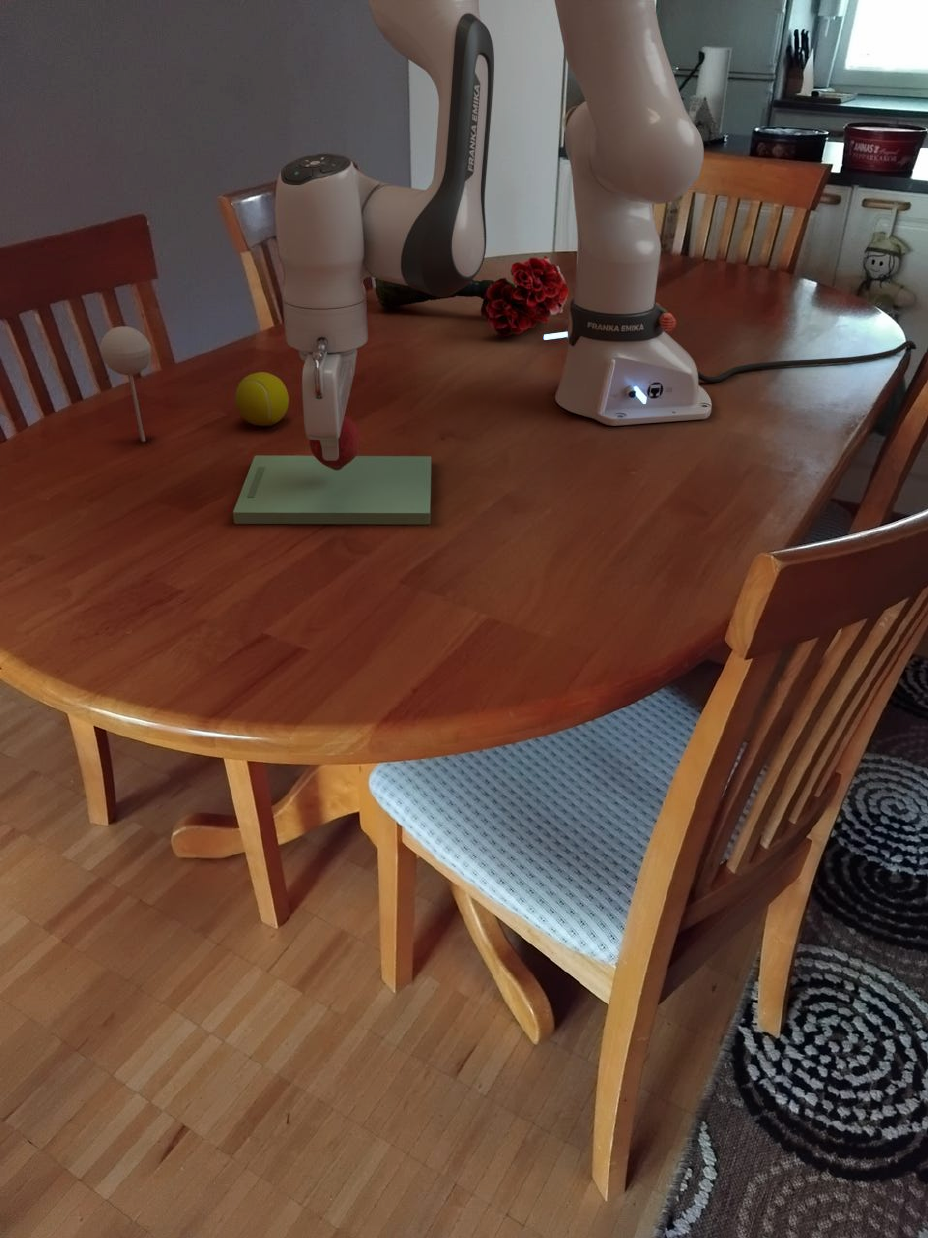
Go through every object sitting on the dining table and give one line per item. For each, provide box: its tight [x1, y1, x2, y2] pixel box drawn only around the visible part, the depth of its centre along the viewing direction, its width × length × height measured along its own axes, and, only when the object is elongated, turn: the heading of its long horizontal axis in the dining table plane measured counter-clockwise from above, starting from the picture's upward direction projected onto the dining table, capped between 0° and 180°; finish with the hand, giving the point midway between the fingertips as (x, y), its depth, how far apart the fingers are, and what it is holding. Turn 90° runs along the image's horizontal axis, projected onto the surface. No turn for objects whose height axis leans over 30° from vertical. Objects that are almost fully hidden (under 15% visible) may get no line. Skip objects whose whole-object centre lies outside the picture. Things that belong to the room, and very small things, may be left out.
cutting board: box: [232, 454, 432, 526], centre depth 111 cm, size 22×15×2 cm
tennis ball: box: [234, 371, 290, 427], centre depth 127 cm, size 7×7×7 cm
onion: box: [309, 414, 361, 470], centre depth 108 cm, size 6×6×8 cm
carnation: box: [374, 255, 570, 338], centre depth 164 cm, size 16×18×35 cm
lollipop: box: [99, 325, 152, 443], centre depth 119 cm, size 6×6×15 cm
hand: (334, 444), depth 108 cm, fingers closed on onion, 6 cm apart
